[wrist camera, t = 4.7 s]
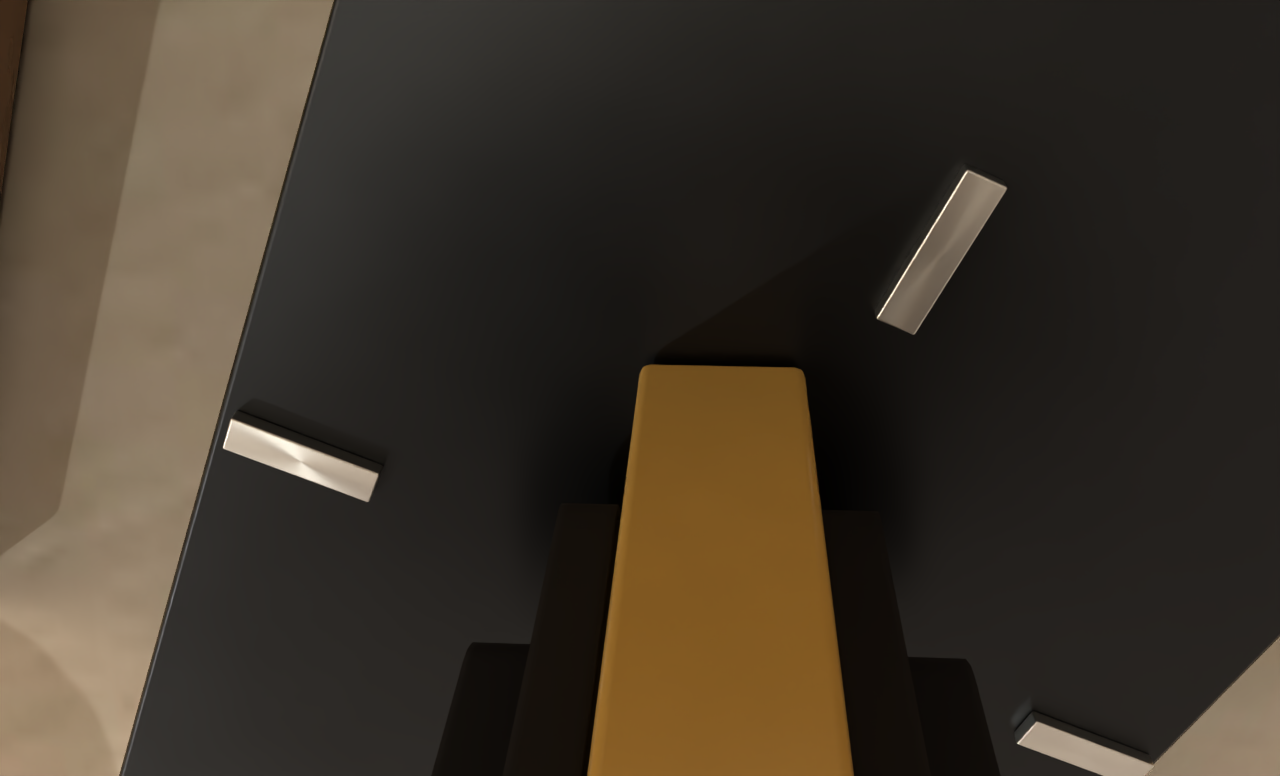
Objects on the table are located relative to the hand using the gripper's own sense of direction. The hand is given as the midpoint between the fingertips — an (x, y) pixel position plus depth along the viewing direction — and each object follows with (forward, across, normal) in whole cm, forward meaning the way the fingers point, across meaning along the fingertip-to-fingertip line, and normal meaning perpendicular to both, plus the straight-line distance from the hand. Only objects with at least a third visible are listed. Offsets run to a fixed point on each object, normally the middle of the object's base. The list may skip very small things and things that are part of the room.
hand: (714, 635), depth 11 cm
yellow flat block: (0, 0, 0) cm, 0 cm away
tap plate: (+3, 0, 0) cm, 3 cm away
